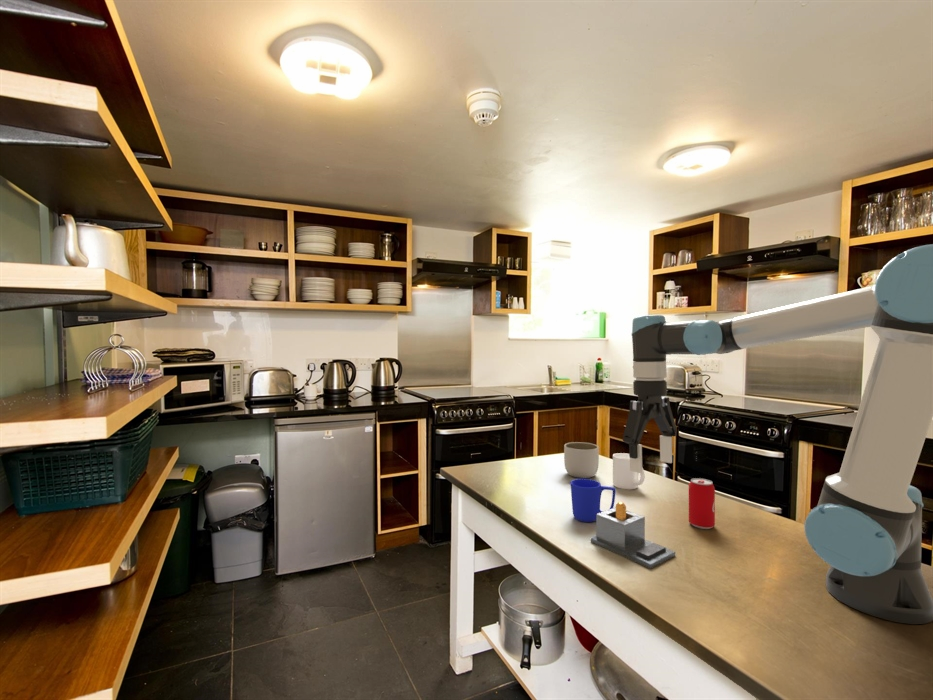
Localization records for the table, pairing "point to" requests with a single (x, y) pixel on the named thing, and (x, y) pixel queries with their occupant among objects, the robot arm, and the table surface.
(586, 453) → the planter
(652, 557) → the keeper
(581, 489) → the mug
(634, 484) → the mug
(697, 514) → the beverage can
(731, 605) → the table surface
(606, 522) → the hollow square tube
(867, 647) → the table surface
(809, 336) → the robot arm
